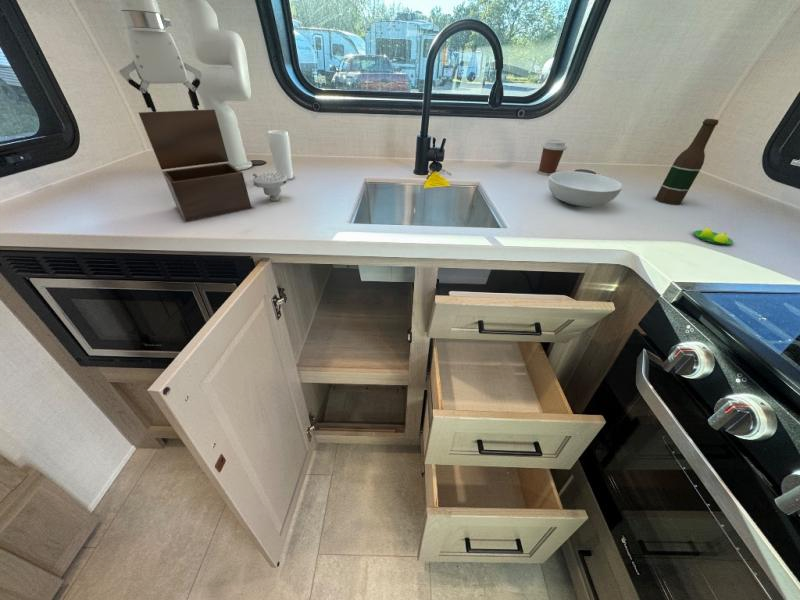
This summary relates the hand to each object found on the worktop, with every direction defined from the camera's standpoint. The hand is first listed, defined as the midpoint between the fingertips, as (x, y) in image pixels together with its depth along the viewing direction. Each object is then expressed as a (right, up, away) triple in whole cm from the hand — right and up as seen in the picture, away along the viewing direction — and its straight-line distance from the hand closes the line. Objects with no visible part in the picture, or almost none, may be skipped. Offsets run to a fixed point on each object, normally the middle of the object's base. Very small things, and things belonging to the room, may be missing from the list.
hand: (175, 110), depth 82 cm
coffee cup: (+120, +3, +48) cm, 129 cm away
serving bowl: (+117, -18, +20) cm, 120 cm away
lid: (+3, -8, 0) cm, 9 cm away
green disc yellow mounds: (+140, -34, 0) cm, 144 cm away
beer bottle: (+149, -17, +24) cm, 152 cm away
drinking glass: (+18, -6, +31) cm, 36 cm away
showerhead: (+20, -19, +13) cm, 31 cm away
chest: (+6, -24, +7) cm, 25 cm away
